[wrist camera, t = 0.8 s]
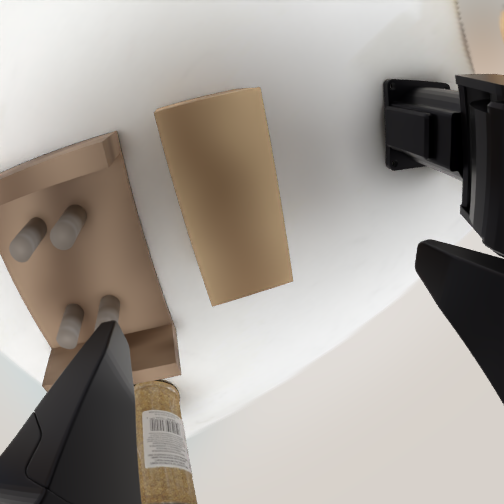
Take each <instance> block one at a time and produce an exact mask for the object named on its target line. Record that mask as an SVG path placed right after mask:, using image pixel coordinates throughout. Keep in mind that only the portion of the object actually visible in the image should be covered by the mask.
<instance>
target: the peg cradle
mask: <svg viewBox="0 0 504 504" xmlns="http://www.w3.org/2000/svg"><path fill="white" fill-rule="evenodd" d="M0 254H1V256H2V259H3V261H4V263H5V265H6V267H7V269H8V271H9V274H10V276H11V278H12V280H13V282H14V284H15V286H16V288H17V290H18V292H19V293H20V295H21V297H22V299H23V301H24V303H25V305H26V306H27V308H28V310H29V312H30V314H31V315H32V317H33V319H34V321H35V322H36V324H37V326H38V327H39V329H40V331H41V332H42V334H43V336H44V337H45V339H46V340H47V342H48V343H49V345H50V347H51V348H52V350H51V353H50V357H49V360H48V364H47V368H46V372H45V376H44V380H43V384H42V386H43V388H44V389H45V390H46V391H47V392H48V391H49V389H50V388H51V387H52V385H53V384H54V383H55V381H56V380H57V379H58V377H59V376H60V375H61V373H62V372H63V371H64V369H65V368H66V367H67V366H68V364H69V363H70V362H71V360H72V359H73V358H74V356H75V355H76V354H77V353H78V351H79V350H80V349H81V348H82V346H83V345H84V344H85V342H86V341H87V340H88V339H89V337H90V336H91V335H92V334H93V332H94V331H95V330H96V329H97V328H98V326H99V325H100V324H101V323H102V322H106V321H111V320H115V321H117V322H118V324H119V326H120V328H121V330H122V332H123V334H124V336H125V338H126V340H127V342H128V345H129V349H130V358H131V368H132V377H133V384H138V383H144V382H149V381H154V380H159V379H164V378H169V377H173V376H178V375H181V368H180V360H179V352H178V343H177V334H176V329H175V326H174V323H173V321H172V318H171V315H170V313H169V310H168V307H167V304H166V301H165V298H164V296H163V293H162V290H161V287H160V284H159V281H158V278H157V275H156V272H155V269H154V266H153V263H152V260H151V256H150V253H149V250H148V247H147V244H146V240H145V237H144V234H143V230H142V227H141V223H140V220H139V217H138V213H137V209H136V206H135V202H134V199H133V195H132V191H131V187H130V183H129V180H128V176H127V172H126V168H125V164H124V159H123V155H122V151H121V147H120V142H119V138H118V133H117V131H114V132H111V133H107V134H104V135H101V136H97V137H94V138H91V139H88V140H85V141H82V142H79V143H76V144H73V145H70V146H67V147H64V148H61V149H59V150H56V151H53V152H50V153H48V154H45V155H42V156H40V157H37V158H35V159H32V160H30V161H27V162H25V163H22V164H20V165H17V166H15V167H13V168H10V169H8V170H6V171H4V172H1V173H0Z"/></svg>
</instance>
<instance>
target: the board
mask: <svg viewBox="0 0 504 504" xmlns="http://www.w3.org/2000/svg"><path fill="white" fill-rule="evenodd" d="M154 116H155V119H156V123H157V127H158V131H159V135H160V138H161V142H162V146H163V149H164V153H165V157H166V160H167V164H168V167H169V171H170V174H171V178H172V181H173V185H174V188H175V192H176V195H177V198H178V202H179V205H180V208H181V212H182V215H183V218H184V221H185V225H186V228H187V231H188V234H189V237H190V241H191V244H192V247H193V250H194V253H195V256H196V259H197V262H198V266H199V269H200V272H201V275H202V278H203V281H204V284H205V287H206V290H207V292H208V295H209V298H210V301H211V304H212V307H213V306H216V305H219V304H223V303H226V302H229V301H232V300H236V299H239V298H242V297H245V296H249V295H252V294H255V293H258V292H261V291H264V290H268V289H271V288H274V287H277V286H280V285H283V284H286V283H289V282H292V281H293V276H292V269H291V263H290V256H289V249H288V243H287V236H286V230H285V224H284V217H283V211H282V205H281V199H280V193H279V187H278V181H277V175H276V170H275V164H274V158H273V153H272V147H271V141H270V136H269V131H268V125H267V120H266V115H265V109H264V104H263V99H262V94H261V89H260V87H257V88H242V89H233V90H229V91H224V92H219V93H215V94H211V95H206V96H202V97H198V98H194V99H190V100H186V101H183V102H179V103H175V104H172V105H168V106H165V107H161V108H158V109H157V110H156V111H155V112H154Z"/></svg>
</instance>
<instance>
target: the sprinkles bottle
mask: <svg viewBox="0 0 504 504" xmlns="http://www.w3.org/2000/svg"><path fill="white" fill-rule="evenodd" d="M134 393H135V409H136V438H137V456H138V470H139V481H140V492H141V501H142V504H197V501H196V495H195V490H194V485H193V480H192V471H191V466H190V460H189V455H188V450H187V444H186V438H185V431H184V425H183V421H182V418H181V412H180V405H179V401H180V396H179V392H178V391H177V389H176V388H175V387H174V386H172V385H171V384H168V383H165V382H162V381H149V382H144V383H139V384H136V385H135V386H134Z"/></svg>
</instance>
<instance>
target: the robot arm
mask: <svg viewBox="0 0 504 504" xmlns="http://www.w3.org/2000/svg"><path fill="white" fill-rule="evenodd" d="M455 78H456V84H458V90H459V91H454V90H450V87H449V85H448V84H446V83H438V82H428V81H416V80H400V79H387V80H386V81H385V82H384V97H385V123H386V164H387V167H388V168H389V169H391V170H394V171H395V170H402V169H409V168H416V167H423V166H428V167H431V168H433V169H436V170H438V171H440V172H443V173H445V174H447V175H450V176H452V177H454V178H456V179H458V180H461V181H463V188H462V204H461V205H460V214H461V215H462V216H463V217H464V218H465V219H466V220H467V222H468V223H469V224H470V225H471V226H472V227H473V228H474V230H475V231H476V232H477V233H478V234H479V235H480V237H481V238H482V242H483V243H484V244H485V246H487V247H488V248H490V249H491V250H493V251H494V252H495V253H497V254H498V255H499V256H502V257H504V75H497V74H466V75H455ZM390 84H392V89H391V88H390ZM444 88H445V89H444ZM393 161H394V165H392V163H393ZM415 269H416V272H417V274H418V275H419V277H420V278H421V280H422V281H423V283H424V285H425V286H426V288H427V289H428V291H429V292H430V294H431V296H432V297H433V299H434V301H435V302H436V304H437V305H438V307H439V308H440V309H441V311H442V312H443V314H444V315H445V317H446V318H447V319H448V321H449V322H450V323H451V325H452V326H453V328H454V329H455V330H456V332H457V333H458V335H459V336H460V337H461V339H462V340H463V342H464V343H465V345H466V346H467V348H468V349H469V351H470V352H471V353H472V355H473V356H474V358H475V359H476V361H477V362H478V364H479V366H480V367H481V369H482V370H483V372H484V373H485V375H486V376H487V378H488V379H489V381H490V383H491V384H492V386H493V387H494V389H495V391H496V392H497V394H498V396H499V397H500V399H501V401H502V403H503V404H504V259H502V258H499V257H495V256H492V255H488V254H484V253H481V252H477V251H473V250H470V249H466V248H462V247H458V246H455V245H451V244H447V243H443V242H439V241H435V240H431V239H428V240H425V241H422V242H420V243H419V244H418V247H417V254H416V260H415ZM34 411H35V413H34V412H33V413H32V414H31V416H30V417H29V419H28V420H27V421H26V423H25V424H24V425H23V427H22V428H21V430H20V431H19V432H18V434H17V435H16V437H15V438H14V439H13V441H12V442H11V443H10V444H9V446H8V447H7V448H6V450H5V451H4V452H3V453H2V454H1V456H0V504H142V501H141V492H140V481H139V470H138V456H137V438H136V409H135V393H134V385H133V377H132V368H131V358H130V349H129V345H128V342H127V340H126V338H125V336H124V334H123V332H122V330H121V328H120V326H119V324H118V322H117V321H115V320H111V321H106V322H102V323H101V324H100V325H99V326H98V328H97V329H96V330H95V331H94V332H93V334H92V335H91V336H90V337H89V339H88V340H87V341H86V342H85V344H84V345H83V346H82V348H81V349H80V350H79V351H78V353H77V354H76V355H75V356H74V358H73V359H72V360H71V362H70V363H69V364H68V366H67V367H66V368H65V369H64V371H63V372H62V373H61V375H60V376H59V377H58V379H57V380H56V381H55V383H54V384H53V385H52V387H51V388H50V389H49V391H48V392H47V393H46V395H45V396H44V398H43V399H42V400H41V402H40V403H39V405H38V406H37V407H36V409H35V410H34Z"/></svg>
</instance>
